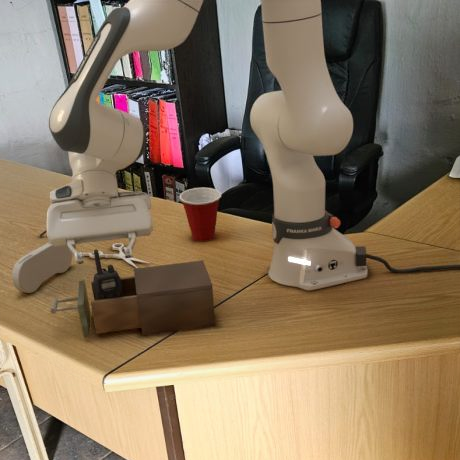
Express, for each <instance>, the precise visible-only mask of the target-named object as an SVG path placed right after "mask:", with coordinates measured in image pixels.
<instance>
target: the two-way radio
mask: <svg viewBox="0 0 460 460" xmlns="http://www.w3.org/2000/svg"><path fill="white" fill-rule="evenodd" d="M98 251H99V249H97V248H96V249H93V252H94V255H95V258H94V262H95V268H96V273H94V275H93V278H92V280H93V288H94V293H95V295H96V300H103V299H110V298H118V297H123V294H122V284H121V279H120V278H121V277H120V275H119V273H118V271H117V270H115V268H114V265H113V264H108V265H107V269H106V268H105V267H104V268H102V263H101V258H100V257H99V253H98Z"/></svg>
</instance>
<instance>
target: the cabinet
mask: <svg viewBox="0 0 460 460" xmlns="http://www.w3.org/2000/svg"><path fill="white" fill-rule="evenodd" d="M133 276H134V277H135V285H136V293H137V300H138V307H139V313H140V320H141V335H142V336H143V337H144V336H151V335H159V334H166V333H174V332H181V331H187V330H189V331H190V330H196V329H203V328H211V327H216V313H215V299H214V289H213V283H212V281H211V277H210V275H209V272H208V269H207V267H206V263H205V262H204V259H202V260H194V261H187V262H179V263H169V264H161V265H153V266H146V267H138V268H136V267H135V268H133Z"/></svg>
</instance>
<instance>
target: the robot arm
mask: <svg viewBox="0 0 460 460" xmlns="http://www.w3.org/2000/svg"><path fill="white" fill-rule="evenodd" d="M203 3H204V0H128V2H127V3H125V4H124V5H123V6H122V7H116V8H113V9H112V10H111V12H109V14H108V15H107V16H106V17H105V19H104V21H103V22H102V24H101V25H100V27H99V29H98V31H97V32H96V34H95V36H94V37H93V39H92V41H91V43H90V45H89V47H88V48H87V50H86V52H85V54H84V56H83V58H82V60H81V62H80V63H79V65H78V67H77V69H76V71H75V73H74V75H73V76H72V78H71V80H70V82H69V84H68V85H67V87H66V88H65V90H63V92H62V93H61V95H60V96H59V98H58V99H57V100H56V101H55V103H54V105H53V106H52V109H51V112H50V113H49V114H50V115H49V118H48V128H49V131H50V134H51V136H52V138H53V140H54V141H55V143H56V144H57V146H58V147H59V148H60V149H61V150H62V151H64V152H68V154H67V155H68V162H69V167H70V169H71V172H72V176H71V182H69V183H67V184H65V185H62V186H60V187H58V188H55V189H53V190H51V191H50V192H49V201H50V205H49V207H48V208H47V212H46V223H45V225H46V230H47V232H46V236H47V239H48V242H50V243H51V244H52V245H53V246H64V245H68V248H69V250H70V251H71V253H72V256H74V262H75V265H83V264H85V261H84V256H83V254H82V253H83V252H82V251H81V252H78V251H77V250H76V249H77V245H79V244H87V243H97V242H105V241H112V240H113V241H114V240H122V239H128V242H129V243H128V246H124V249H123V252H124V254H125V258H134V253H133V250H134V247H135V245H136V244H137V238H139V237H148V236H151V234H152V232H153V231H154V226H153V221H152V216H151V212H150V209H151V207H152V202H151V197H150V195H149V194H148V193H147V192H145V191H144V192H143V191H142V190H139V189H138V190H133V191H121V192H119V186H118V179H117V176H116V174H117V172H118V171H122V170H124V169H127V168H128V167H129V166H131V165H133V164H134V163H135V162H137V161H139V159H141V157H142V156H143V155H144V153H145V151H146V147H147V134H146V133H147V132H146V128H145V126H144V123H143V122H142V119H140V118H139V117H138V116H136V115H133V114H131V113H128V112H126V111H123V110H121V109H118V108H114V107H111V106H109V105H106V104H103V103H101V102H98V101H97V99H98V97H99V96H100V93H101V92H102V90H103V87H104V86H105V85H106V83H107V81H108V79H109V77H110V76H111V74H112V72H113V70H114V68H115V66H116V65H117V64H118V62H119V61H120V60H121V59H122V58H123V57H125V56H128V54H132V53H137V52H162V51H168V50H171V49H174V48H176V47H178V46H180V45H181V44H183V43H184V42H185V41H186V40H187V38H188V37H189V35H190V34H191V32H192V30H193V28H194V26H195V23H196V21H197V18H198V15H199V13H200V11H201V7H202V5H203ZM260 3H261V20H262V30H263V41H264V52H265V53H264V54H265V62H266V65H267V68H268V69H269V71H270V73H271V74H272V75H273V76H274V78H275V79H276V80H277V82H278V84H279V87H280V89H281V90H274V91H269V92H265V93H263V94H261V95H259V97H257V99H256V100H255V101H254V103H253V104H252V107H251V109H250V115H249V121H250V126H251V130H252V131H253V133H254V134H255V135H256V137H257V138H258V139H259V141H260V144H261V145H262V148H263V150H264V153H265V156H266V160H267V163H268V166H269V171H270V174H271V179H272V190H273V191H272V192H273V211H274V212H273V214H272V218H271V235H272V236H271V237H272V240H273V247H272V255H271V262H270V266H269V270H268V273H267V274H268V278H270V279H271V280H272V281H273V282H276V283H277V284H280V285H283V286H288V287H296V288H300V289H301V290H305V291H314V290H319V289H323V288H329V287H332V286H336V285H341V284H344V283H345V284H346V283H350V282H354V281H358V280H362V279H366V278H368V276H369V275H368V274H369V270H368V267H367V259H370V260H373V261H377V262H380V263H382V264H383V265H384V266H385V268H386V269H387V270H388V271H390V272H391V273H394V274H408V273H409V274H410V273H415V272H422V271H423V272H424V271H425V272H426V271H440V270H441V271H442V270H458V269H460V264H446V265H445V264H444V265H430V266H417V267H411V268H404V269H397V268H394V267H392V266H391V265H390V264H389V263H388V261H387V260H385V259H384V258H382V257H380V256H376V255H372V254H368V253H367V247H366V246H361V245H360V246H355V244H354V243H353V241H352V240H350V238H348V237H347V236H345V235H344V234H342V233H341V232H339V230H337V229H338V228H339V227H340V226H341V220H340V219H339V218H338V217H337V216H334V215H333V214H331V212H328V211H327V210H326V179H325V176H324V175H325V174H324V173H323V172H322V170H321V169H320V167H319V166H318V165H317V163H316V161H315V157H327V156H335V155H337V154H340V153H341V152H343V150H344V149H346V148H347V146H348V145H349V143H350V142H351V141H350V140H351V139H352V136H353V131H354V118H353V115H352V113H351V110H349V108H348V107H347V106H346V105H345V104H344V102H343V101H342V100H341V98H340V96H339V95H338V93H337V91H336V88H335V86H334V84H333V81H332V78H331V76H330V72H329V70H328V69H329V68H328V65H327V61H326V55H325V46H324V34H323V33H324V32H323V17H322V16H323V15H322V14H323V13H322V1H321V0H260Z"/></svg>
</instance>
